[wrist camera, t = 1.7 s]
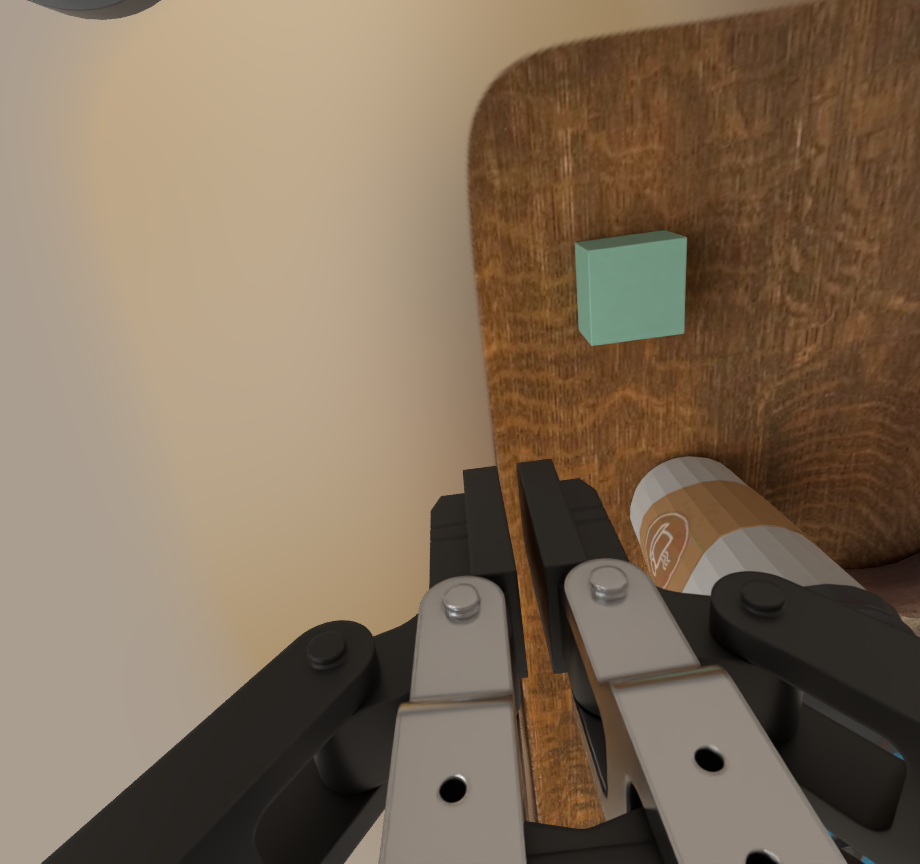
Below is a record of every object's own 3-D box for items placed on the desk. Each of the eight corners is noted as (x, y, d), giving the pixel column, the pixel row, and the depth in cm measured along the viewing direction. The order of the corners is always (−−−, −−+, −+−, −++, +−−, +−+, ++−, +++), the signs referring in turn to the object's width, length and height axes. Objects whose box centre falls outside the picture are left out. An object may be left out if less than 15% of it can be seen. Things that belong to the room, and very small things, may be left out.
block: (574, 242, 29) (587, 250, 26) (665, 229, 29) (687, 236, 26) (578, 330, 31) (591, 346, 28) (664, 319, 31) (684, 333, 28)
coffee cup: (642, 421, 33) (785, 607, 19) (777, 453, 34) (1001, 651, 21) (590, 543, 36) (681, 775, 23) (714, 569, 38) (872, 804, 24)
